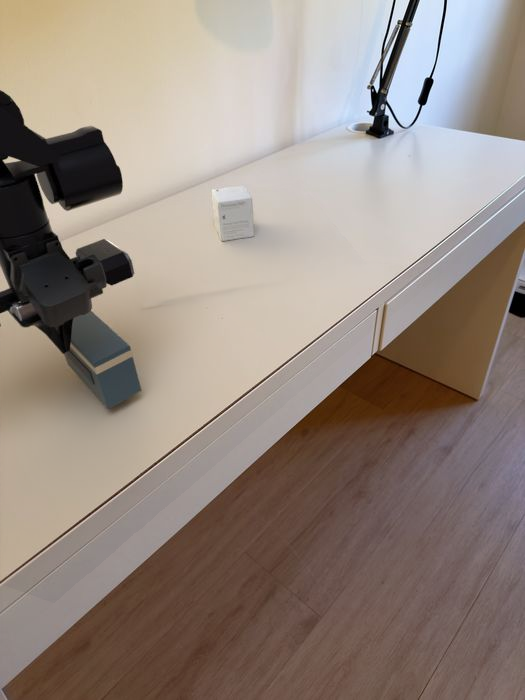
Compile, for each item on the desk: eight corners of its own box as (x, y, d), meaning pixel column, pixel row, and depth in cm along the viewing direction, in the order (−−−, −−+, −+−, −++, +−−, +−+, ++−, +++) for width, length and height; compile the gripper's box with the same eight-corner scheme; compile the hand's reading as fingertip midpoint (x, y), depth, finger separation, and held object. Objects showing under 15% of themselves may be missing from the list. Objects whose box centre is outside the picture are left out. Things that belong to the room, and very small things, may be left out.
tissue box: (142, 390, 63) (130, 345, 59) (107, 409, 61) (92, 364, 57) (99, 349, 70) (86, 305, 66) (66, 364, 68) (50, 320, 63)
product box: (221, 242, 92) (216, 202, 87) (215, 227, 97) (210, 188, 92) (255, 237, 93) (252, 197, 88) (247, 222, 98) (245, 184, 93)
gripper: (-62, 296, 41) (9, 432, 51) (146, 219, 50) (172, 347, 60) (-96, 247, 48) (-28, 375, 57) (92, 187, 57) (123, 307, 66)
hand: (64, 351), depth 60 cm, fingers closed
